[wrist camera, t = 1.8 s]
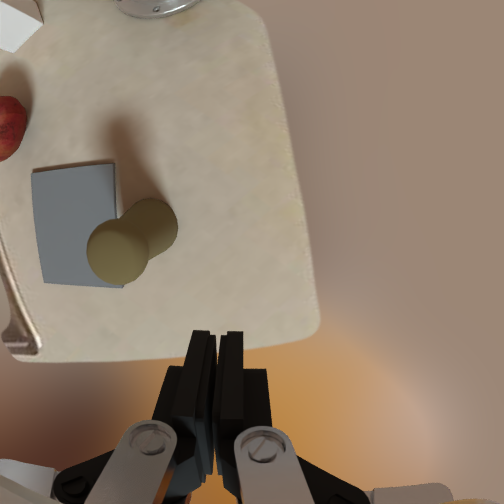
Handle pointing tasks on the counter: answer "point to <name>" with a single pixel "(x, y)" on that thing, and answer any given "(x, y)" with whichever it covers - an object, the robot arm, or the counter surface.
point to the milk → (17, 22)
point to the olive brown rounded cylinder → (131, 241)
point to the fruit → (11, 126)
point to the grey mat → (71, 220)
